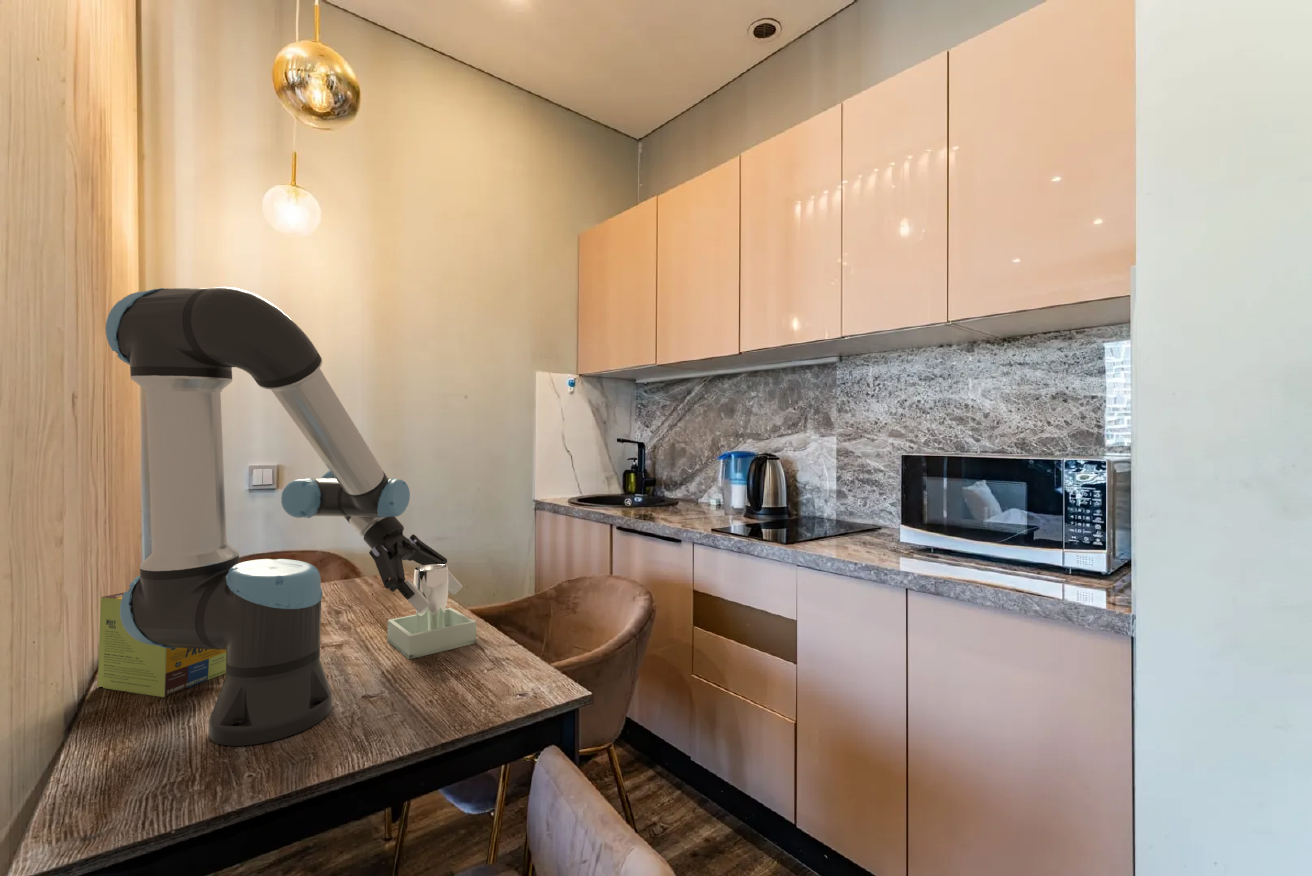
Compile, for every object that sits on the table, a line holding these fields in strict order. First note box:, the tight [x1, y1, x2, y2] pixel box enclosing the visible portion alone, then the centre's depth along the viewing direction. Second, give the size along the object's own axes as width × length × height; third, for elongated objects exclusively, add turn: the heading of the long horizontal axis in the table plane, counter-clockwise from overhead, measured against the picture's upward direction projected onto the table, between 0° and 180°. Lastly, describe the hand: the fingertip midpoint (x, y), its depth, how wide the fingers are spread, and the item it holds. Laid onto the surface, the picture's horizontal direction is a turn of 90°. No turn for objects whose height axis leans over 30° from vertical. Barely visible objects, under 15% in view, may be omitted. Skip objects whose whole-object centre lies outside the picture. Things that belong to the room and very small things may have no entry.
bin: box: [386, 607, 477, 660], centre depth 116 cm, size 14×14×4 cm
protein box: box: [97, 592, 226, 698], centre depth 96 cm, size 10×15×16 cm
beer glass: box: [412, 564, 449, 633], centre depth 116 cm, size 7×7×15 cm
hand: (442, 599), depth 115 cm, fingers open, 13 cm apart
